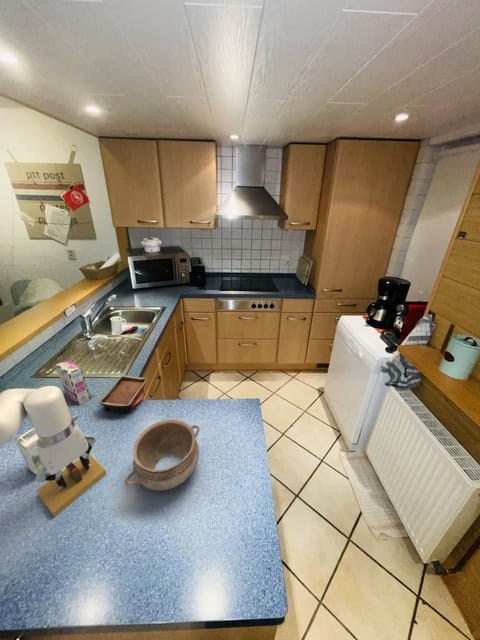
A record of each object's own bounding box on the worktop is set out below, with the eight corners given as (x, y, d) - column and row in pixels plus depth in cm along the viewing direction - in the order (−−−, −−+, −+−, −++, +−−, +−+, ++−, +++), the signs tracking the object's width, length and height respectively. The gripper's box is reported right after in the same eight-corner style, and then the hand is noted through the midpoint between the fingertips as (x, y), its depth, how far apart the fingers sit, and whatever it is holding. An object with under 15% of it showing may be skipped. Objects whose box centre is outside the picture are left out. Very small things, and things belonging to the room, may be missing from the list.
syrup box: (50, 456, 81) (35, 424, 75) (61, 464, 79) (47, 431, 73) (30, 472, 77) (13, 438, 71) (42, 480, 74) (25, 447, 68)
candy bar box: (91, 399, 105) (82, 367, 98) (79, 407, 101) (68, 374, 95) (78, 389, 111) (68, 358, 104) (66, 396, 107) (54, 364, 100)
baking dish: (153, 396, 111) (150, 375, 108) (129, 422, 94) (124, 399, 91) (123, 394, 113) (120, 374, 110) (95, 419, 96) (90, 396, 94)
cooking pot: (149, 529, 64) (142, 500, 59) (115, 480, 75) (106, 452, 70) (219, 460, 81) (218, 433, 76) (182, 429, 92) (179, 403, 87)
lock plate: (55, 519, 65) (52, 512, 64) (39, 496, 70) (35, 489, 69) (107, 476, 76) (105, 469, 75) (89, 459, 81) (87, 452, 80)
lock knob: (68, 474, 73) (64, 463, 71) (74, 470, 74) (69, 459, 72) (77, 483, 71) (72, 472, 69) (82, 479, 72) (78, 468, 70)
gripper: (83, 404, 73) (97, 447, 81) (9, 447, 60) (34, 493, 68) (97, 415, 69) (110, 459, 77) (22, 463, 56) (47, 510, 64)
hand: (74, 474), depth 72 cm, fingers open, 5 cm apart
